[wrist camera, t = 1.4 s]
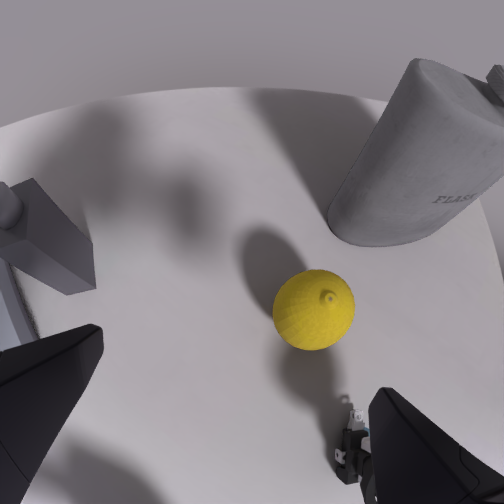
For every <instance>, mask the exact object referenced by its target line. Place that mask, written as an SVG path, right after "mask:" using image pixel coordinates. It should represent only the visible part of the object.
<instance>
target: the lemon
mask: <svg viewBox="0 0 504 504" xmlns="http://www.w3.org/2000/svg"><path fill="white" fill-rule="evenodd" d="M354 311H355V302H354V296H353V294H352V292H351V289H350V288H349V286H348V285H347V283H346V282H345V281H344V280H343V279H342V278H341V277H339V276H338V275H336V274H334V273H332V272H329V271H325V270H308V271H304V272H300V273H298V274H297V275H295V276H293V277H291V278H290V279H289V280H288V281H287V282H286V283H284V284H283V285H282V286H281V288H280V290H279V291H278V293H277V295H276V297H275V300H274V304H273V320H274V325H275V327H276V329H277V331H278V333H279V334H280V336H281V337H282V338H283V339H284V340H285V341H286V342H288V343H289V344H291V345H292V346H294V347H297V348H300V349H303V350H318V349H323V348H326V347H328V346H330V345H332V344H334V343H336V342H337V341H338V340H339V339H340V338H341V337H342V336H344V335H345V333H346V332H347V330H348V329H349V327H350V326H351V323H352V320H353V317H354Z"/></svg>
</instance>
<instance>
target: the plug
mask: <svg viewBox="0 0 504 504" xmlns="http://www.w3.org/2000/svg"><path fill="white" fill-rule="evenodd" d="M0 258H2V259H3V260H5V261H7V262H8V263H10V264H11V265H13V266H15V267H16V268H18V269H20V270H22V271H23V272H25V273H27V274H28V275H30V276H32V277H34V278H35V279H37V280H39V281H41V282H43V283H44V284H46V285H48V286H50V287H52V288H54V289H56V290H57V291H59V292H61V293H63V294H65V295H71V294H75V293H80V292H84V291H88V290H92V289H96V282H95V271H94V259H93V244H92V243H91V242H90V240H89V239H88V238H87V237H86V236H85V235H84V234H83V233H82V232H81V231H80V230H79V229H78V228H77V227H76V226H75V225H74V224H73V223H72V222H71V221H70V220H69V218H68V217H67V216H66V215H65V214H64V213H63V212H62V211H61V210H60V209H59V207H58V206H57V205H56V204H55V203H54V202H53V201H52V200H51V198H50V197H49V196H48V195H47V194H46V193H45V192H44V190H43V189H42V188H41V187H40V186H39V185H38V183H37V182H36V181H35V180H34V179H33V178H31V179H29V180H26V181H24V182H22V183H19V184H17V185H15V186H12V187H10V188H9V187H8V186H7V185H6V184H5V183H4V182H0Z"/></svg>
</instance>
